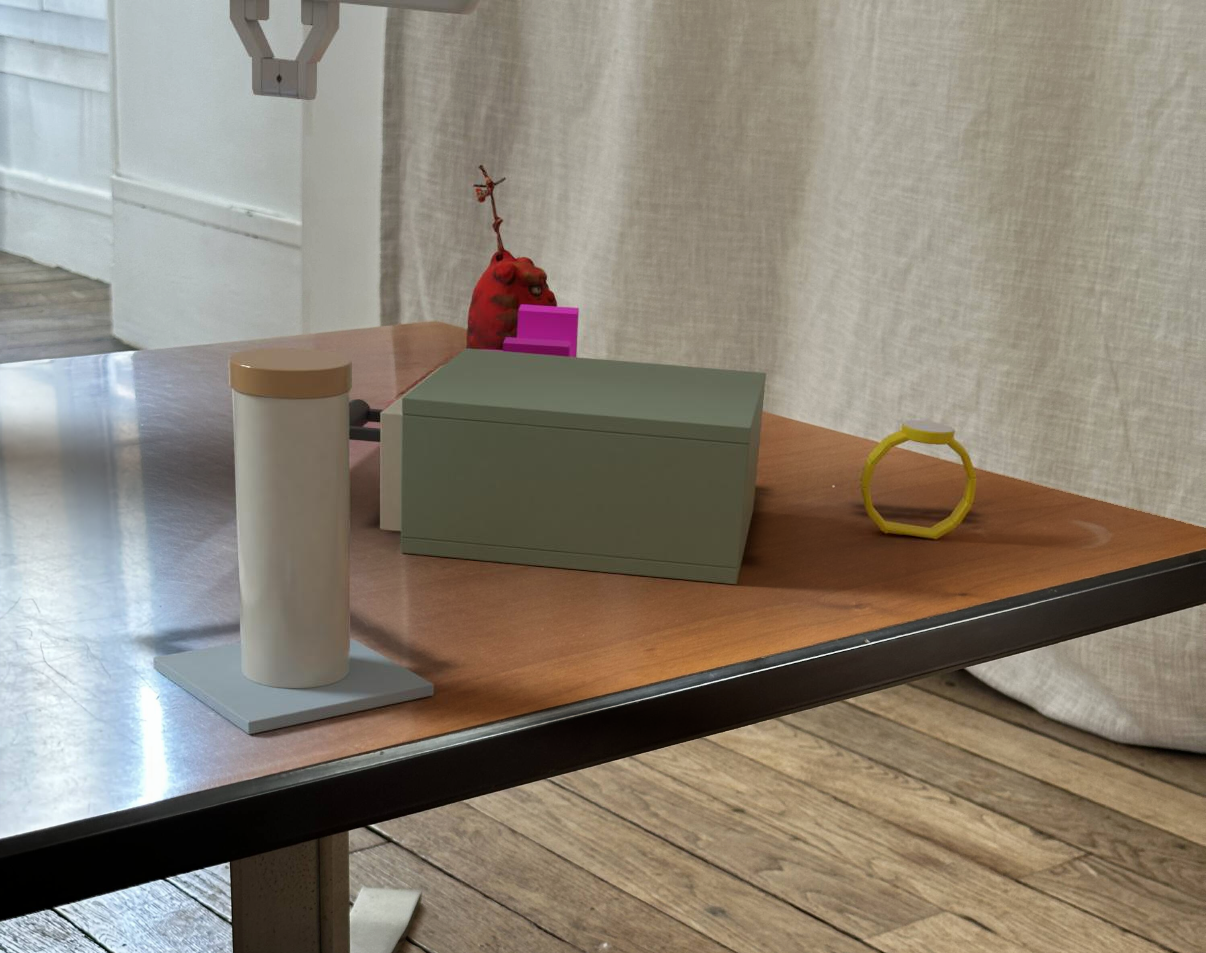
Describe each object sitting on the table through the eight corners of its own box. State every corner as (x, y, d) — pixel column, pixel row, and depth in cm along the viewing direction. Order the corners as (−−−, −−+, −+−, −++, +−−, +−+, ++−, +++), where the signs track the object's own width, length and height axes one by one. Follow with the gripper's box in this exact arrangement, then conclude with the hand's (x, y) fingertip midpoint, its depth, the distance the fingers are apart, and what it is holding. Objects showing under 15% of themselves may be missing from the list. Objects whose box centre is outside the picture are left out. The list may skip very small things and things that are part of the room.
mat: (248, 735, 62) (248, 722, 62) (153, 668, 68) (152, 656, 67) (434, 695, 67) (434, 683, 66) (330, 636, 72) (330, 625, 72)
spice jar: (223, 683, 65) (211, 364, 60) (259, 646, 69) (251, 344, 64) (335, 695, 65) (332, 374, 60) (365, 657, 69) (365, 353, 64)
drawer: (295, 522, 85) (293, 404, 82) (365, 462, 97) (365, 358, 94) (691, 558, 83) (701, 439, 80) (712, 493, 95) (721, 387, 92)
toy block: (479, 418, 114) (482, 301, 111) (573, 423, 114) (578, 307, 111) (456, 470, 100) (459, 340, 97) (563, 477, 100) (569, 346, 97)
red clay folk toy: (545, 399, 120) (554, 174, 114) (449, 390, 122) (453, 166, 115) (570, 381, 127) (580, 167, 121) (479, 372, 128) (485, 160, 122)
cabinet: (400, 552, 84) (401, 397, 81) (462, 483, 97) (465, 347, 94) (736, 584, 82) (751, 427, 79) (753, 510, 96) (766, 372, 92)
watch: (857, 537, 91) (871, 426, 89) (853, 524, 94) (866, 416, 92) (969, 545, 91) (986, 434, 89) (962, 531, 94) (978, 423, 91)
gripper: (510, -188, 84) (494, 114, 90) (110, -221, 86) (120, 77, 92) (485, -205, 78) (470, 119, 84) (57, -239, 80) (71, 80, 86)
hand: (284, 97), depth 88 cm, fingers closed
